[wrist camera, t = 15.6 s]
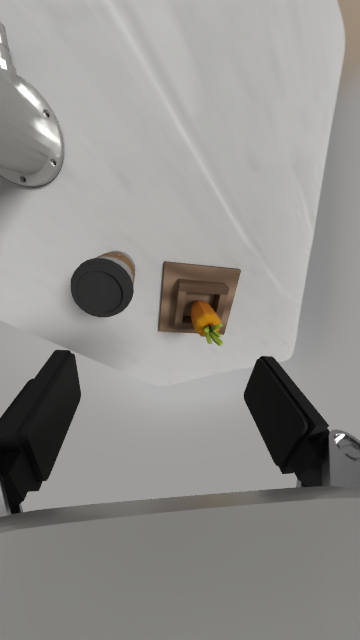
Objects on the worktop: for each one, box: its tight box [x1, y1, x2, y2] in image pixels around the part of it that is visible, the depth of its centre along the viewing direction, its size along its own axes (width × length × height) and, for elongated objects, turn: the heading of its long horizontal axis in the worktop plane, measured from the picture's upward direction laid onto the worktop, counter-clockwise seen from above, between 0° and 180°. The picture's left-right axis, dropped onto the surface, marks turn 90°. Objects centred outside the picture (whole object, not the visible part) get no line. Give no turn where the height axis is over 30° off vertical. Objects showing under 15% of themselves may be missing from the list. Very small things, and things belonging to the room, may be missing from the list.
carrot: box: [191, 300, 223, 346], centre depth 37 cm, size 5×5×15 cm
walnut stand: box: [159, 261, 241, 335], centre depth 43 cm, size 16×16×4 cm
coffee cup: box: [71, 251, 135, 317], centre depth 33 cm, size 8×8×15 cm
